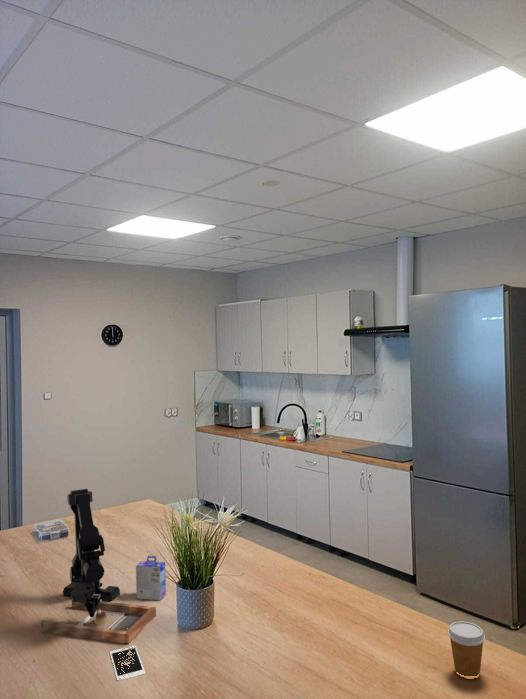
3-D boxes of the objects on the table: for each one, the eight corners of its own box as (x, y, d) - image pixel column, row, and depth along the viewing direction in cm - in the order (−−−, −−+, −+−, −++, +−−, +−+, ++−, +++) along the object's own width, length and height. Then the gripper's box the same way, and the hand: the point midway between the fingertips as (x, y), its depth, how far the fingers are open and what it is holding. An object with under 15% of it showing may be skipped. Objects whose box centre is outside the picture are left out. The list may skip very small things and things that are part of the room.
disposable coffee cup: (443, 664, 152) (442, 621, 152) (475, 661, 153) (474, 619, 153) (458, 685, 143) (457, 640, 143) (493, 682, 144) (491, 637, 143)
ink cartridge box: (167, 593, 202) (165, 555, 202) (161, 600, 196) (160, 561, 196) (142, 592, 204) (141, 554, 204) (136, 599, 198) (134, 559, 198)
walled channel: (40, 632, 177) (40, 622, 177) (74, 606, 194) (74, 597, 194) (129, 644, 168) (128, 634, 168) (156, 615, 185) (155, 607, 185)
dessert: (125, 616, 187) (125, 602, 187) (107, 634, 175) (106, 619, 175) (95, 612, 190) (94, 599, 190) (74, 630, 179) (74, 615, 179)
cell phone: (117, 683, 149) (117, 680, 149) (109, 653, 164) (109, 651, 164) (145, 675, 152) (145, 673, 152) (135, 647, 167) (135, 644, 167)
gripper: (51, 578, 177) (52, 625, 177) (101, 583, 171) (102, 632, 171) (72, 564, 187) (73, 609, 187) (120, 569, 182) (121, 615, 182)
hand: (92, 616), depth 182 cm, fingers closed
